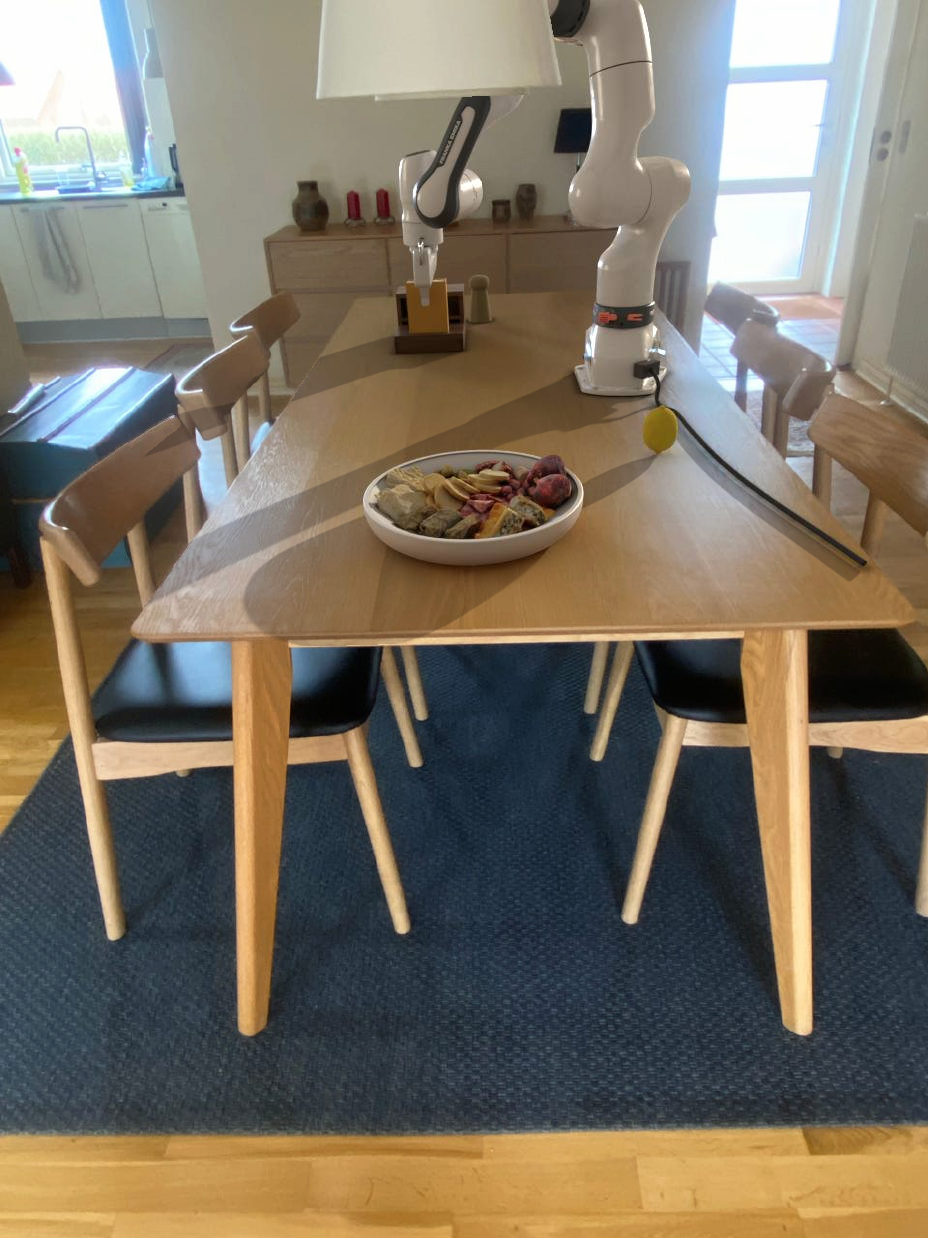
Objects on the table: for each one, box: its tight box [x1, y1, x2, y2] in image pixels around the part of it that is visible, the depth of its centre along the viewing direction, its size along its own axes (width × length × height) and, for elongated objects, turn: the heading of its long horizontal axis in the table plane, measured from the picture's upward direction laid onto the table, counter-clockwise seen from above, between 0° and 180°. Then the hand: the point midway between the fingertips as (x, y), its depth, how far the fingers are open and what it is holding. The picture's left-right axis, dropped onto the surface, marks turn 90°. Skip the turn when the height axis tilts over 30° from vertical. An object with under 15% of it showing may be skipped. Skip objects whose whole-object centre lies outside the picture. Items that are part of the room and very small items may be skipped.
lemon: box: [641, 404, 679, 455], centre depth 131 cm, size 6×6×8 cm
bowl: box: [362, 449, 584, 566], centre depth 113 cm, size 30×30×8 cm
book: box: [405, 277, 449, 333], centre depth 189 cm, size 4×9×11 cm, turn 88°
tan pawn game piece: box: [468, 274, 493, 324], centre depth 212 cm, size 6×6×11 cm
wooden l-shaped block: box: [393, 283, 467, 355], centre depth 196 cm, size 20×16×11 cm
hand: (427, 300), depth 188 cm, fingers open, 8 cm apart
